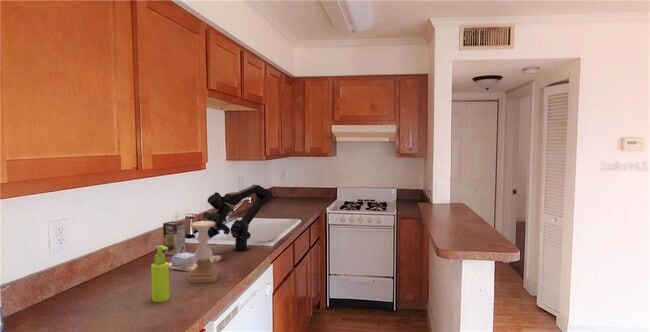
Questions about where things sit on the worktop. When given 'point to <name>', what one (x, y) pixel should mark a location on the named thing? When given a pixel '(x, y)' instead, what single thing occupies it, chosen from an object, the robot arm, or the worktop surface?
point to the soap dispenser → (160, 276)
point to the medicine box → (184, 260)
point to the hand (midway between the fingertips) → (203, 241)
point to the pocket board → (192, 267)
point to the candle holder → (203, 255)
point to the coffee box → (174, 237)
